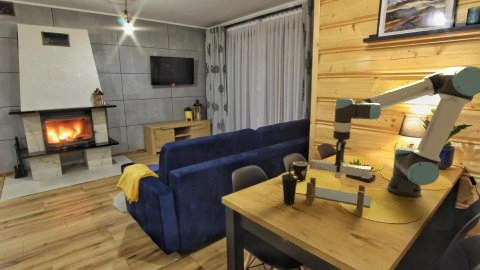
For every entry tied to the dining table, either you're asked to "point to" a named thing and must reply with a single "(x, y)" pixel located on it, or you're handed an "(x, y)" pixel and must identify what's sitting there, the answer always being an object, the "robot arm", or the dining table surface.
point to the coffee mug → (300, 169)
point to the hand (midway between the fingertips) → (338, 176)
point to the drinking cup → (289, 187)
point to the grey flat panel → (340, 196)
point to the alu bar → (345, 169)
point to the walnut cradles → (311, 195)
